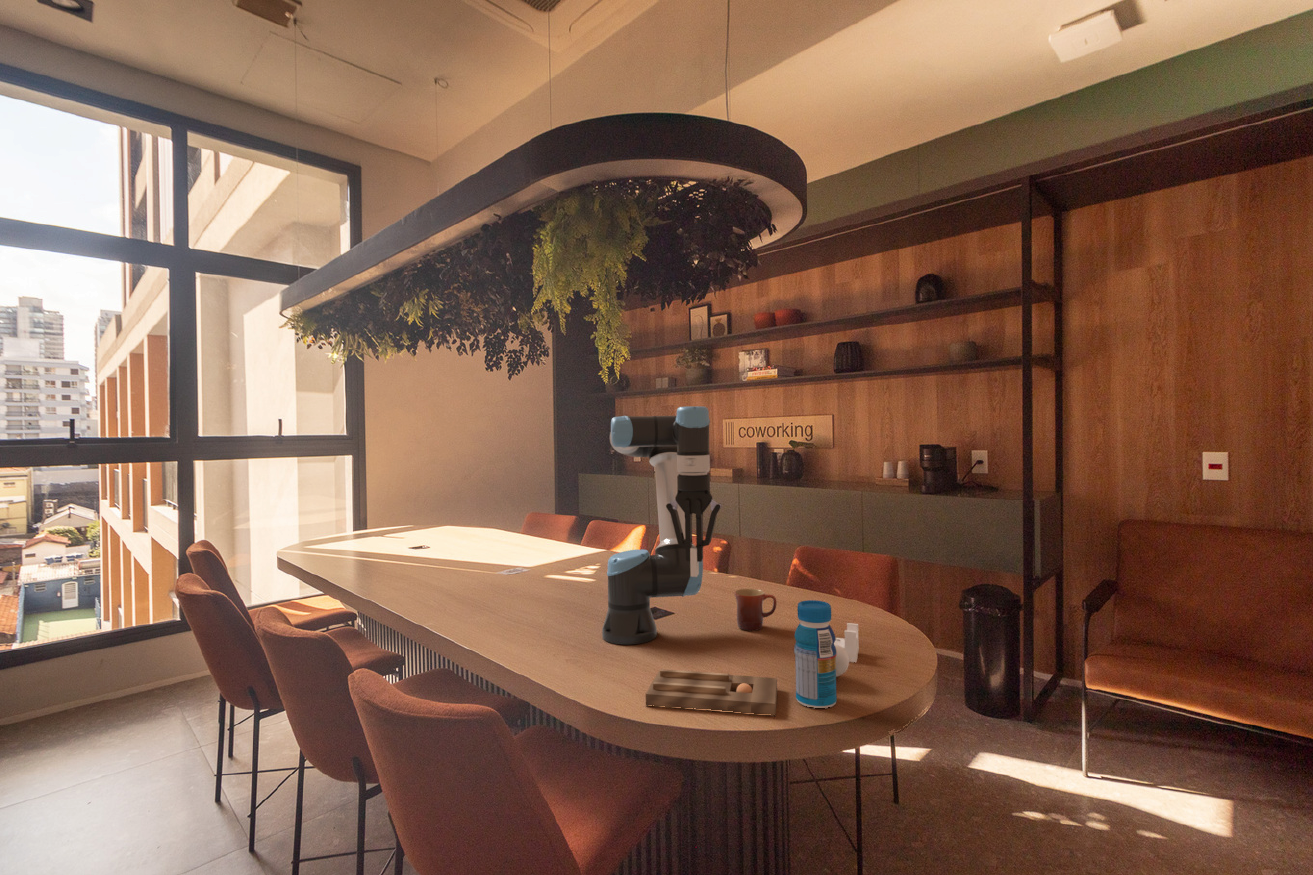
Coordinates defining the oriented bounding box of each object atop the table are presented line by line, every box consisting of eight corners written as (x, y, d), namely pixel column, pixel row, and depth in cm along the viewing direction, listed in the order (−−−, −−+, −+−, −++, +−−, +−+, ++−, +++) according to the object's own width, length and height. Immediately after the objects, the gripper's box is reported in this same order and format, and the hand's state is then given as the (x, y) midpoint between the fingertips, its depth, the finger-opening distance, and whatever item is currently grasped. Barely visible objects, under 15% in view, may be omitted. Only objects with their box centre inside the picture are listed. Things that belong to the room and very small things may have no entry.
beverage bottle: (792, 706, 122) (790, 607, 122) (798, 690, 130) (796, 597, 130) (835, 712, 119) (833, 611, 119) (839, 695, 127) (837, 600, 127)
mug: (735, 632, 170) (734, 596, 170) (734, 623, 178) (733, 588, 178) (778, 633, 169) (777, 596, 169) (775, 623, 177) (774, 588, 177)
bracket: (858, 654, 152) (858, 623, 152) (856, 663, 145) (855, 632, 145) (806, 648, 157) (805, 618, 157) (801, 657, 150) (800, 626, 150)
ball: (732, 696, 124) (742, 684, 124) (733, 688, 128) (743, 677, 127) (745, 707, 124) (755, 695, 123) (746, 699, 127) (756, 687, 127)
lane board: (645, 706, 124) (645, 687, 124) (659, 681, 136) (659, 664, 136) (775, 716, 118) (775, 697, 118) (777, 689, 130) (776, 672, 131)
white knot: (847, 671, 140) (846, 632, 140) (852, 692, 128) (851, 650, 129) (797, 668, 143) (796, 630, 143) (797, 688, 131) (796, 647, 131)
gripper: (662, 474, 137) (663, 577, 138) (719, 475, 134) (720, 580, 135) (669, 471, 144) (670, 569, 145) (723, 472, 141) (724, 572, 142)
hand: (694, 575), depth 140 cm, fingers closed
